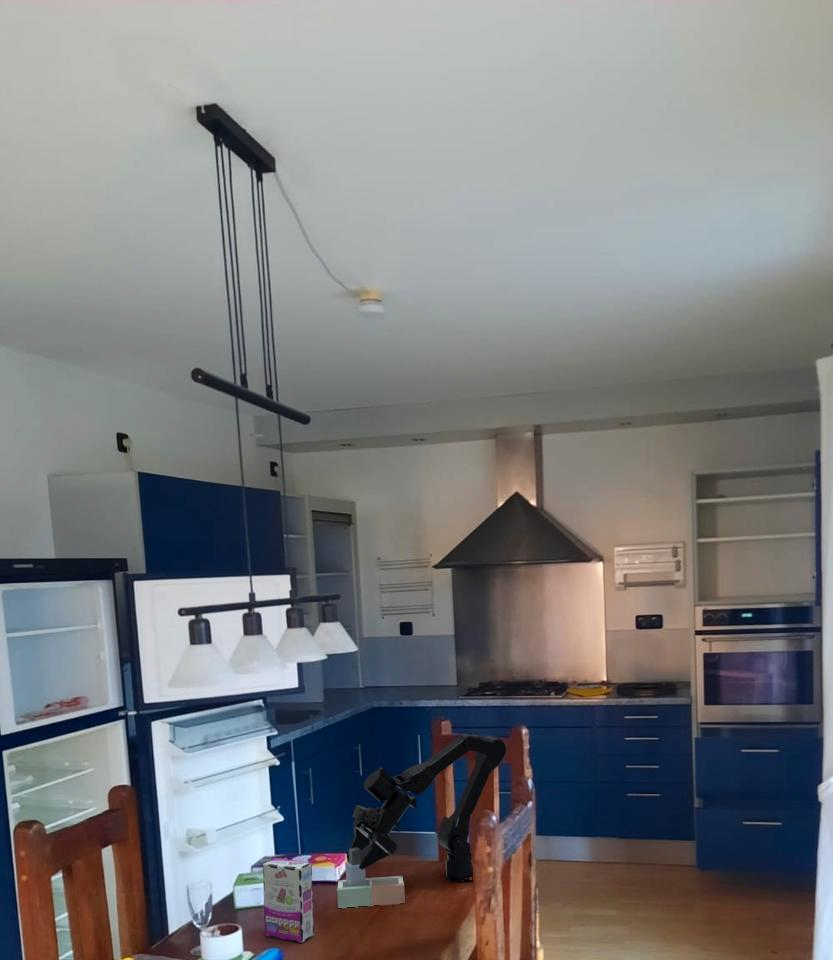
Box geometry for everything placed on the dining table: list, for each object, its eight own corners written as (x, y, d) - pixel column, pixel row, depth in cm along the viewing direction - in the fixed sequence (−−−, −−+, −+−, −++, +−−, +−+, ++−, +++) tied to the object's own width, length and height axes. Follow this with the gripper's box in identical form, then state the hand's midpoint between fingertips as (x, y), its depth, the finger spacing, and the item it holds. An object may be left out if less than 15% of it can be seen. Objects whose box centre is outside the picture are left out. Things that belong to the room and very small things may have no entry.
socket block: (338, 894, 219) (338, 876, 219) (402, 889, 220) (402, 871, 221) (338, 908, 209) (337, 890, 210) (404, 903, 210) (404, 885, 211)
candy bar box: (315, 935, 194) (313, 862, 196) (302, 944, 190) (300, 869, 192) (276, 928, 199) (274, 856, 201) (263, 936, 195) (261, 863, 197)
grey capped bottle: (361, 895, 217) (359, 845, 219) (366, 900, 213) (364, 850, 215) (346, 898, 215) (344, 848, 217) (351, 904, 212) (350, 852, 213)
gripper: (358, 786, 228) (321, 835, 222) (383, 801, 211) (344, 854, 205) (386, 811, 230) (350, 860, 224) (413, 828, 213) (375, 881, 208)
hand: (354, 863), depth 215 cm, fingers open, 9 cm apart
